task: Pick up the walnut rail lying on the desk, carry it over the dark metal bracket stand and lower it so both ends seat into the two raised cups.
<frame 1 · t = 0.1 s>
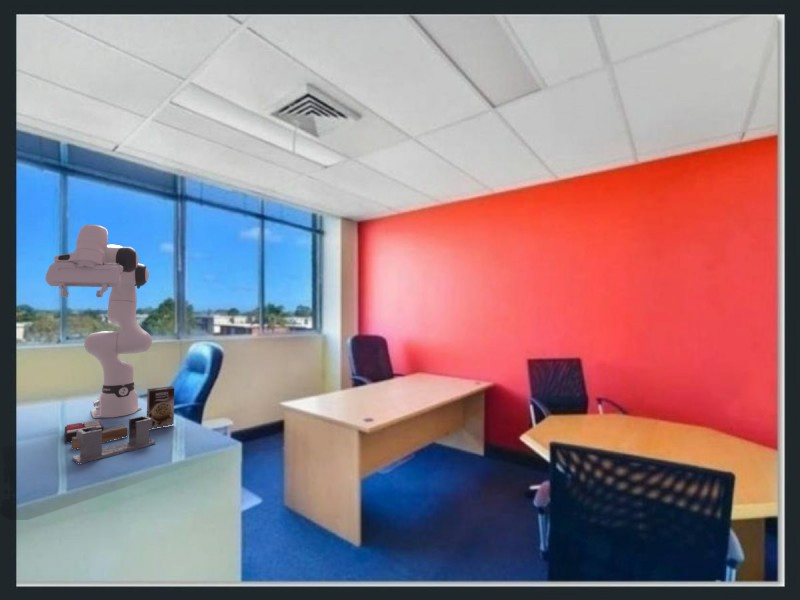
hand: (81, 296, 127), 54 cm above the table, tool tilted 30°, fingers open, 8 cm apart
bracket: (115, 451, 131), on the table
rail: (100, 443, 139), on the table
calculator: (83, 436, 148), on the table
coffee box: (160, 427, 158), on the table
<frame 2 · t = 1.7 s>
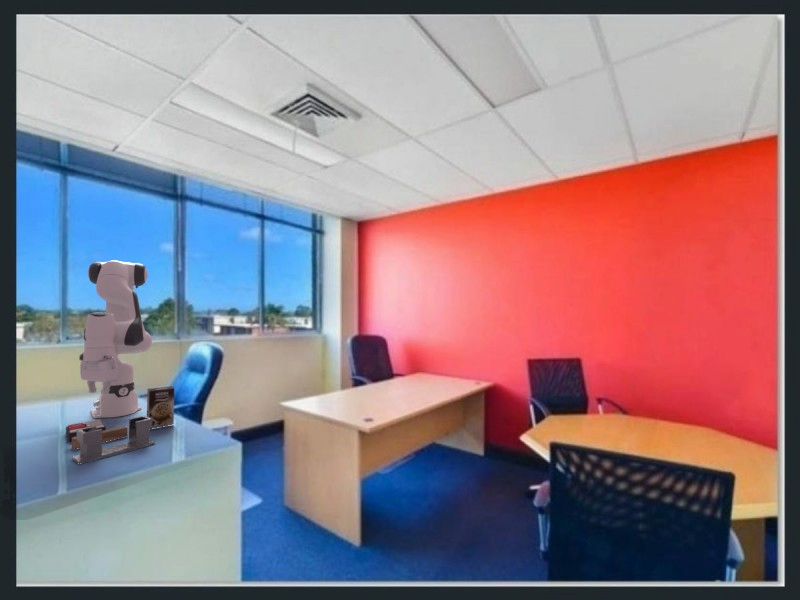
hand: (98, 393, 137), 19 cm above the table, tool pointing down, fingers open, 8 cm apart
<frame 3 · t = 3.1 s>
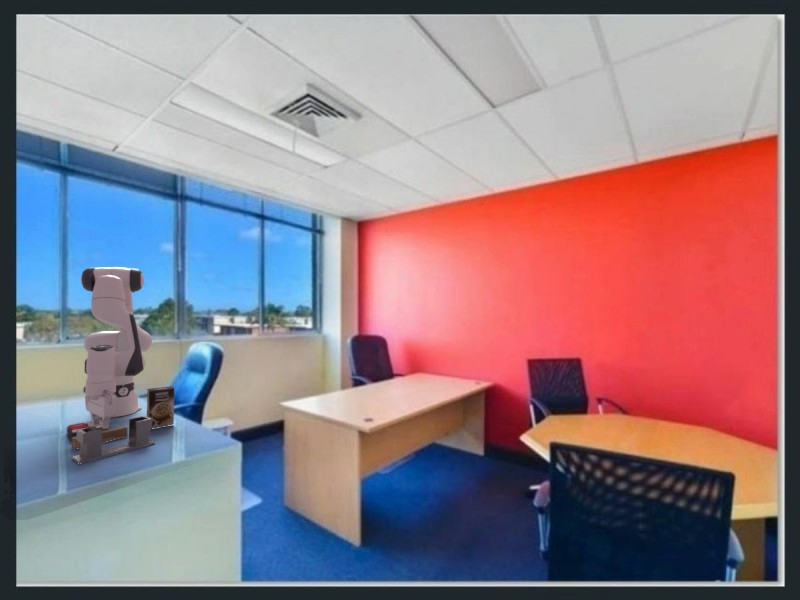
hand: (100, 426, 139), 6 cm above the table, tool pointing down, fingers open, 8 cm apart
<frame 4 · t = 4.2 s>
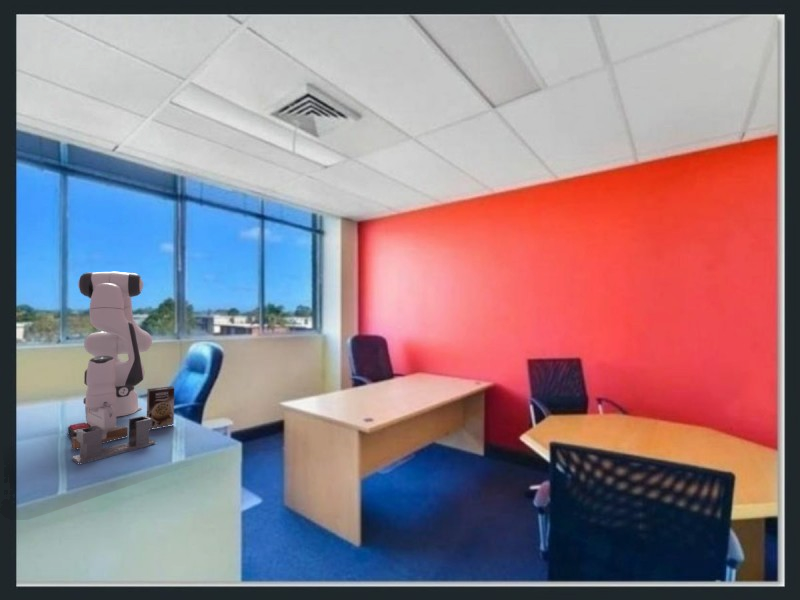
hand: (100, 437, 139), 2 cm above the table, tool pointing down, fingers closed on rail, 3 cm apart
rail: (100, 442, 139), on the table, touching gripper
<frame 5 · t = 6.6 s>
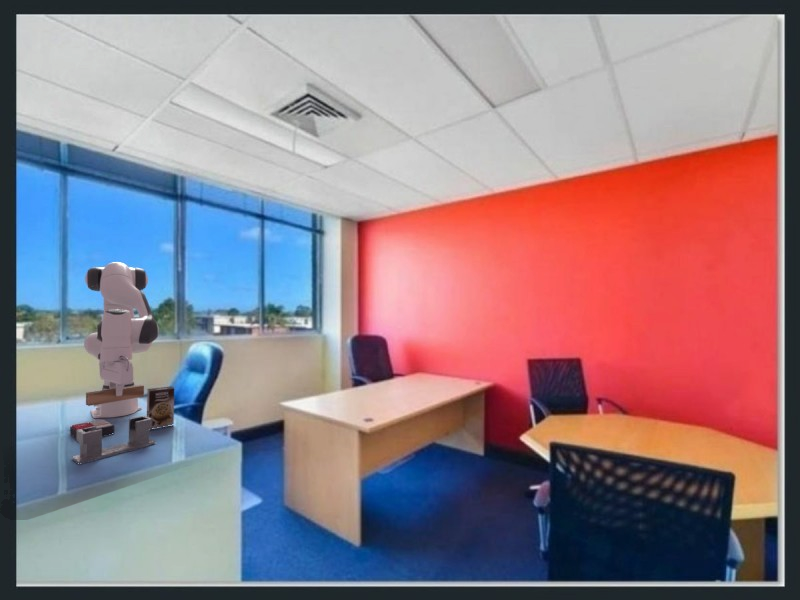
hand: (116, 394, 131), 20 cm above the table, tool pointing down, fingers closed on rail, 3 cm apart
rail: (116, 400, 131), point 18 cm above the table, touching gripper
when the fingers open (9 cm above the table, at t = 8.4 s): rail drops 1 cm, resting on bracket.
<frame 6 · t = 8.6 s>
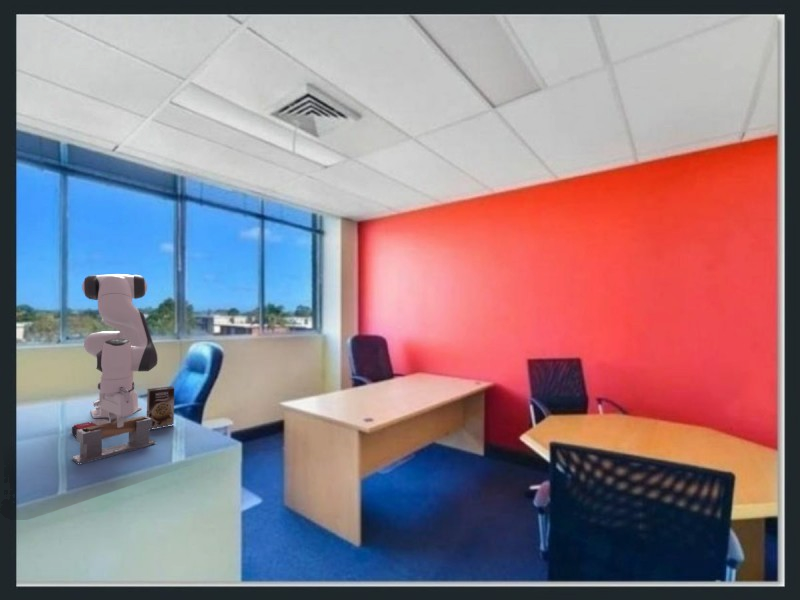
hand: (116, 425, 131), 9 cm above the table, tool pointing down, fingers open, 5 cm apart
rail: (116, 434, 131), point 6 cm above the table, touching bracket
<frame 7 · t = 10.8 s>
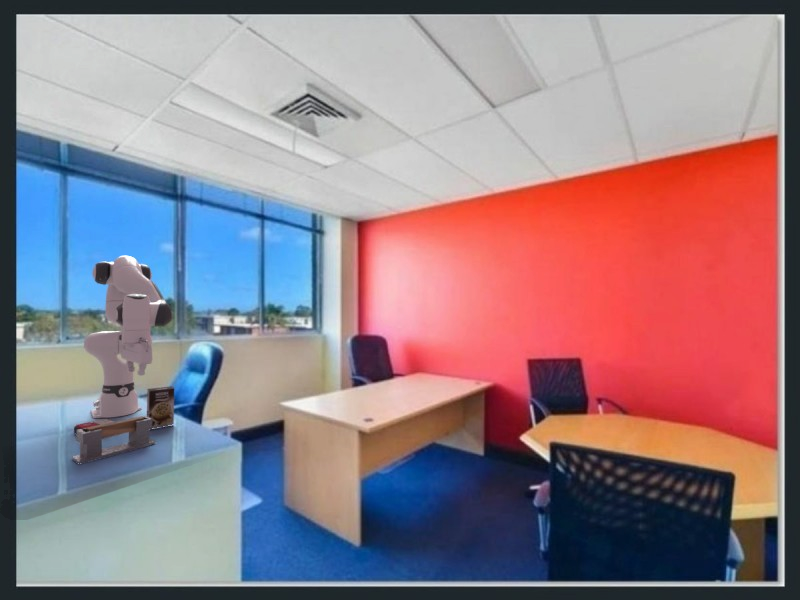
hand: (136, 373, 141), 25 cm above the table, tool pointing down, fingers open, 8 cm apart
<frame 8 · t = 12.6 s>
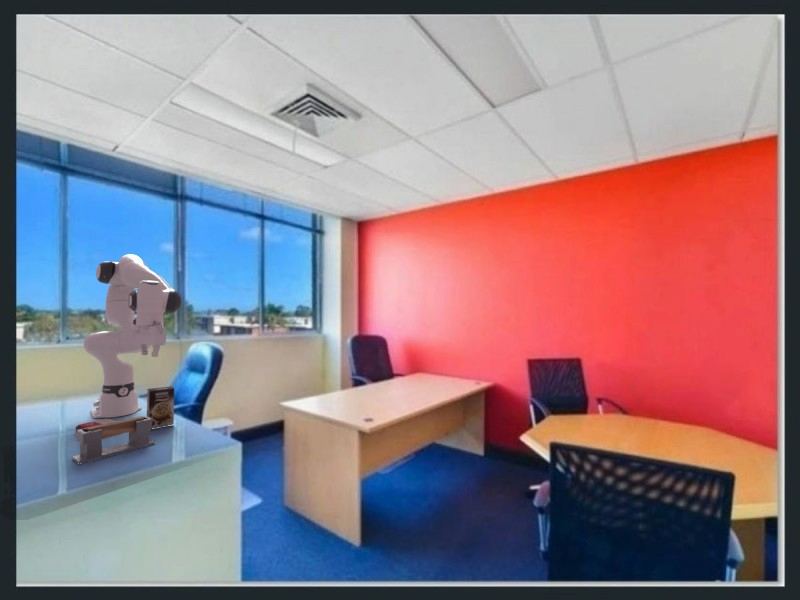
hand: (149, 355, 149), 31 cm above the table, tool pointing down, fingers open, 8 cm apart
at the end: rail 0.1 cm off-centre on the bracket, point 6.0 cm above the bracket's base; rail tilted 0°; the gripper is holding nothing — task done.
